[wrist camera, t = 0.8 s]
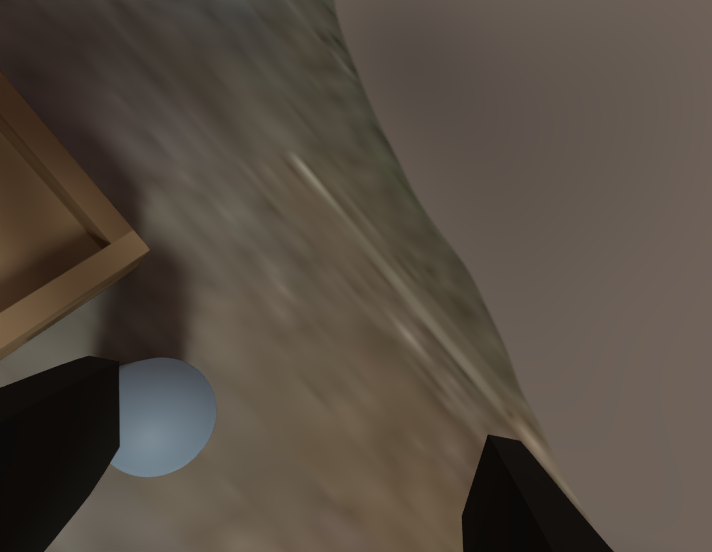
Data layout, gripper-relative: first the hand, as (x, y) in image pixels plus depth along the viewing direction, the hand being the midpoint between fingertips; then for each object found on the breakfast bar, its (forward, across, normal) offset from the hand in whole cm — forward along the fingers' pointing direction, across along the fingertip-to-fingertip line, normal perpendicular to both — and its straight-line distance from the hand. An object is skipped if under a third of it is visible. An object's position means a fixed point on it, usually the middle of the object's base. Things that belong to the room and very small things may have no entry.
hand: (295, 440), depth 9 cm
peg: (+10, +9, +8) cm, 15 cm away
